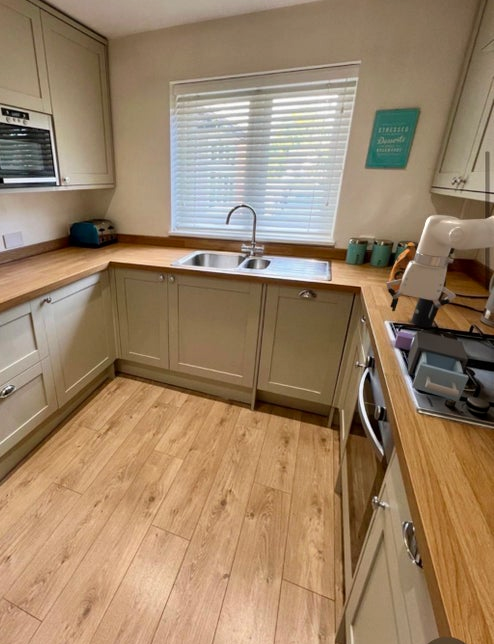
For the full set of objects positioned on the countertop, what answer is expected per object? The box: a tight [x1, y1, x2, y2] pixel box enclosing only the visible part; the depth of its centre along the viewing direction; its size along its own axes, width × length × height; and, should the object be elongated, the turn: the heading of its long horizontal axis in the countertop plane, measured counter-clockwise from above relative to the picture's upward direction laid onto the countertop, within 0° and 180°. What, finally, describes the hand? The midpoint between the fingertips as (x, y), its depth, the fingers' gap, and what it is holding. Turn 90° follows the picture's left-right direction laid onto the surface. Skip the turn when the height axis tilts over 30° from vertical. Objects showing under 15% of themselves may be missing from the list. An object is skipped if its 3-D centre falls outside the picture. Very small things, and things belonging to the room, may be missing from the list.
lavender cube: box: [394, 330, 414, 351], centre depth 105 cm, size 4×4×4 cm
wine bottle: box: [410, 248, 456, 329], centre depth 116 cm, size 6×6×30 cm
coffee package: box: [388, 241, 417, 292], centre depth 152 cm, size 10×12×22 cm
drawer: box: [411, 351, 469, 402], centre depth 82 cm, size 15×9×7 cm, turn 148°
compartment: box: [407, 330, 469, 377], centre depth 91 cm, size 12×11×9 cm
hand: (411, 313), depth 101 cm, fingers open, 9 cm apart
